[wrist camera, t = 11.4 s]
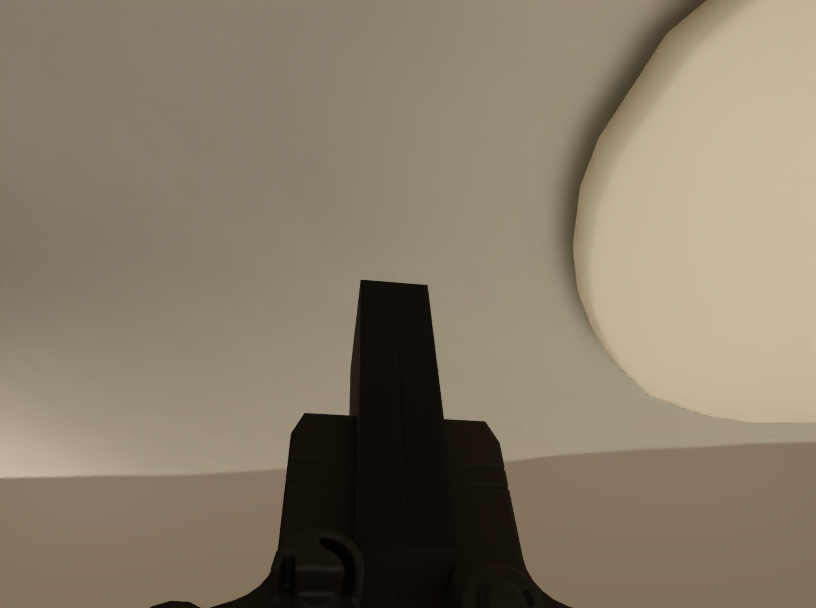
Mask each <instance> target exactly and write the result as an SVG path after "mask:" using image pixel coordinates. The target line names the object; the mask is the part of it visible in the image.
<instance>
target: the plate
mask: <svg viewBox="0 0 816 608" xmlns="http://www.w3.org/2000/svg"><path fill="white" fill-rule="evenodd" d="M573 255H574V264H575V273H576V282H577V291H578V293H579V296H580V298H581V301H582V304H583V306H584V309H585V311H586V314H587V316H588V319H589V321H590V324H591V327H592V329H593V331H594V333H595V335H596V336H597V338H598V339H599V341H600V342H601V344H602V345H603V347H604V348H605V350H606V351H607V353H608V354H609V356H610V357H611V359H612V360H613V361H614V362H615V363H616V364H617V365H618V366H619V367H620V368H621V369H622V370H623V371H624V372H625V373H626V374H627V375H628V376H629V377H630V378H631V379H632V380H633V381H634V382H635V383H636V384H637V385H638V386H639V387H640V388H641V389H642V390H643V391H644V392H645V393H646V394H647V395H649V396H652V397H654V398H657V399H660V400H663V401H666V402H669V403H671V404H674V405H677V406H680V407H683V408H686V409H688V410H691V411H694V412H697V413H700V414H703V415H705V416H711V417H717V418H723V419H729V420H735V421H741V422H763V423H816V0H706V1H705V2H704V3H703V4H701V5H700V6H699V7H698V8H697V9H695V10H694V11H693V12H692V13H691V14H689V15H688V16H687V17H686V18H685V19H683V20H682V21H681V22H680V23H679V24H677V25H676V26H675V27H674V28H673V29H672V30H670V31H669V32H668V33H667V34H666V35H665V37H664V39H663V40H662V42H661V43H660V45H659V46H658V48H657V49H656V51H655V52H654V54H653V55H652V57H651V58H650V60H649V62H648V63H647V65H646V66H645V68H644V69H643V71H642V72H641V74H640V75H639V77H638V78H637V80H636V81H635V83H634V85H633V86H632V88H631V89H630V91H629V92H628V94H627V95H626V97H625V98H624V100H623V101H622V103H621V105H620V106H619V108H618V109H617V111H616V112H615V114H614V115H613V117H612V118H611V120H610V121H609V123H608V124H607V126H606V128H605V129H604V131H603V132H602V134H601V135H600V137H599V139H598V142H597V144H596V147H595V149H594V152H593V155H592V157H591V160H590V162H589V165H588V168H587V170H586V173H585V175H584V178H583V181H582V183H581V186H580V192H579V200H578V208H577V216H576V224H575V232H574V240H573Z"/></svg>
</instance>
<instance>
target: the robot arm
mask: <svg viewBox="0 0 816 608" xmlns="http://www.w3.org/2000/svg"><path fill="white" fill-rule="evenodd" d="M150 608H200V607H198V606H196V605H194V604H192V603H190V602H181V601H169V602H165V603H162V604H159V605H155V606H152V607H150ZM211 608H572V607H569V606H566V605H564V604H562V603H560V602H558V601H556V600H554V599H552V598H551V597H550V596H548V595H547V594H546V593H544V592H543V591H542V590H541V589H540V588H539V587H538V586H537V585H536V583H535V582H534V581H533V580H532V578H531V576H530V575H529V573H528V571H527V569H526V566H525V563H524V560H523V556H522V552H521V547H520V542H519V537H518V532H517V527H516V522H515V517H514V512H513V507H512V502H511V497H510V492H509V490H508V483H507V478H506V473H505V471H504V463H503V458H502V453H501V448H500V443H499V441H498V440H497V438H496V437H495V435H494V434H493V432H492V431H491V429H490V428H489V427H488V425H487V424H486V422H484V421H466V420H448V419H444V416H443V408H442V400H441V392H440V384H439V376H438V367H437V359H436V351H435V343H434V335H433V327H432V318H431V310H430V302H429V294H428V286H427V285H420V284H408V283H395V282H383V281H370V280H361V282H360V291H359V300H358V308H357V317H356V326H355V335H354V344H353V353H352V361H351V375H350V415H349V416H348V415H329V414H311V413H304V415H303V416H302V418H301V419H300V421H299V422H298V424H297V425H296V427H295V428H294V430H293V431H292V433H291V439H290V447H289V456H288V465H287V474H286V483H285V492H284V500H283V509H282V518H281V527H280V535H279V544H278V550H277V552H276V555H275V558H274V561H273V563H272V566H271V572H270V574H269V576H268V577H267V578H266V579H265V580H264V581H263V582H262V584H261V585H260V586H259V587H257V588H256V589H255V590H253V591H252V592H250V593H249V594H248V595H245V596H243V597H241V598H238V599H236V600H233V601H231V602H227V603H224V604H220V605H217V606H214V607H211Z"/></svg>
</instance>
